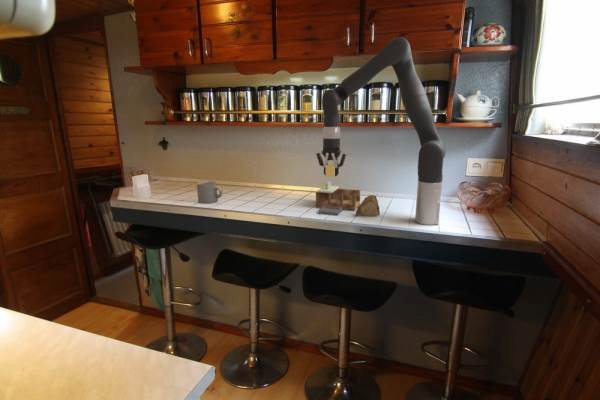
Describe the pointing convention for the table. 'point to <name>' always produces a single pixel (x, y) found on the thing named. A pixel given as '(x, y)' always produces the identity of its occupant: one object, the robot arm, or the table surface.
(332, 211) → the dish
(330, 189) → the lid
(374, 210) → the rock
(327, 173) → the block
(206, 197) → the coffee mug
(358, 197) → the wooden drawer box
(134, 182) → the base with upright slab
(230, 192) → the table surface
